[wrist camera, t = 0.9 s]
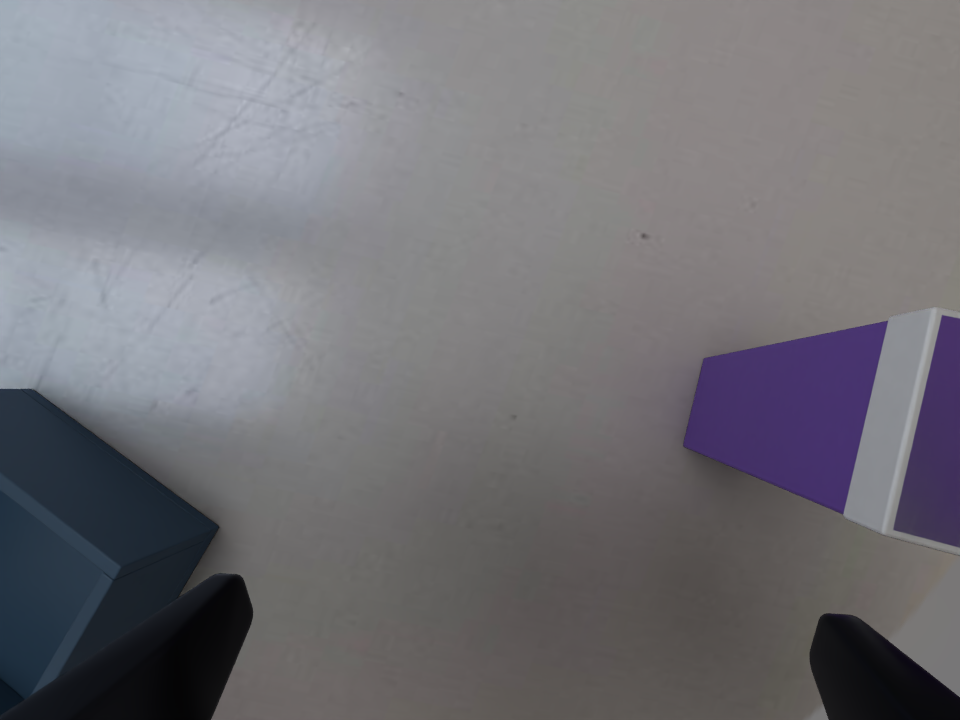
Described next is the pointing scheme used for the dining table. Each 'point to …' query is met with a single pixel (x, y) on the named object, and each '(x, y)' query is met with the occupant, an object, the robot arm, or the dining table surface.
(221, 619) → the robot arm
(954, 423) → the purple white-banded prism
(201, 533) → the open blue box
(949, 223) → the dining table surface
